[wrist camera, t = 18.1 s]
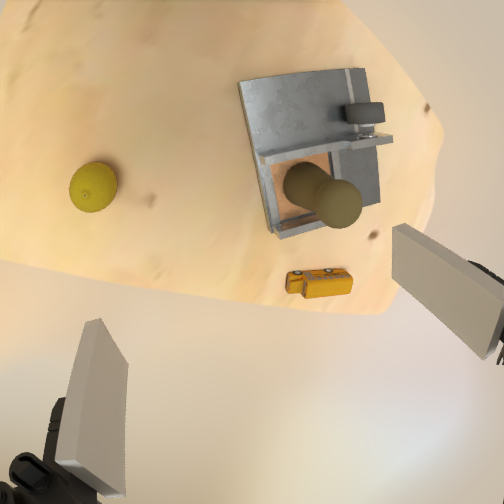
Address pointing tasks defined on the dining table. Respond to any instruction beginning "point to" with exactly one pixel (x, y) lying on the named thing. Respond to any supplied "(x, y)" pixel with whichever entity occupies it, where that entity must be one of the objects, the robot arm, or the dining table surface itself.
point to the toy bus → (319, 283)
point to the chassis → (309, 138)
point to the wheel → (365, 113)
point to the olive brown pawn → (323, 194)
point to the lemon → (93, 187)
